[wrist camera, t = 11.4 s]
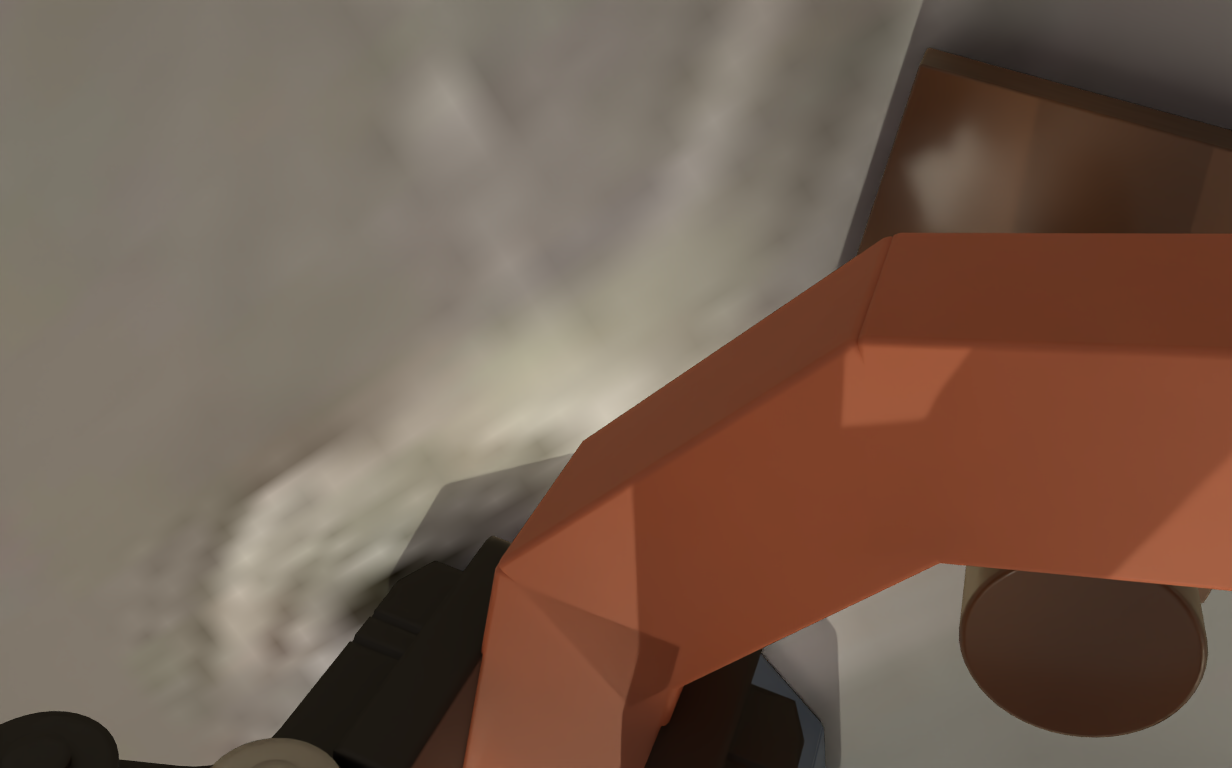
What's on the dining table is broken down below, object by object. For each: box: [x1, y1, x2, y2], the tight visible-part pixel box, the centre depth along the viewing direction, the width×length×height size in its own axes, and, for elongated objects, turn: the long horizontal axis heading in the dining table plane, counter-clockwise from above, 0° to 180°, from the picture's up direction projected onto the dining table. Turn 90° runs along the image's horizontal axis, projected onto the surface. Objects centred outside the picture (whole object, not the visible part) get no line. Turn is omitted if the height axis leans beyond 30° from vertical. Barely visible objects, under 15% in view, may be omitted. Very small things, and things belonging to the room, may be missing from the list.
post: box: [856, 48, 1232, 737], centre depth 19 cm, size 9×9×10 cm
